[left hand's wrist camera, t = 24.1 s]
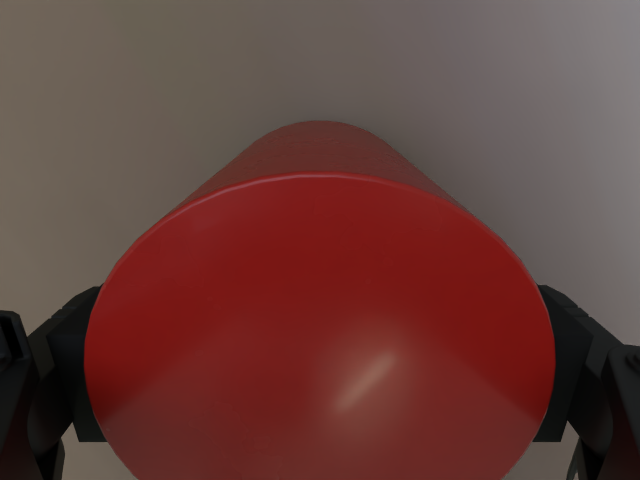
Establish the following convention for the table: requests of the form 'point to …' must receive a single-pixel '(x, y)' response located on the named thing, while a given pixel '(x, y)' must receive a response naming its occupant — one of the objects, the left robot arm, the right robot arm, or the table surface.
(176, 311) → the canister
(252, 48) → the table surface
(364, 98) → the table surface
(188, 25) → the table surface
